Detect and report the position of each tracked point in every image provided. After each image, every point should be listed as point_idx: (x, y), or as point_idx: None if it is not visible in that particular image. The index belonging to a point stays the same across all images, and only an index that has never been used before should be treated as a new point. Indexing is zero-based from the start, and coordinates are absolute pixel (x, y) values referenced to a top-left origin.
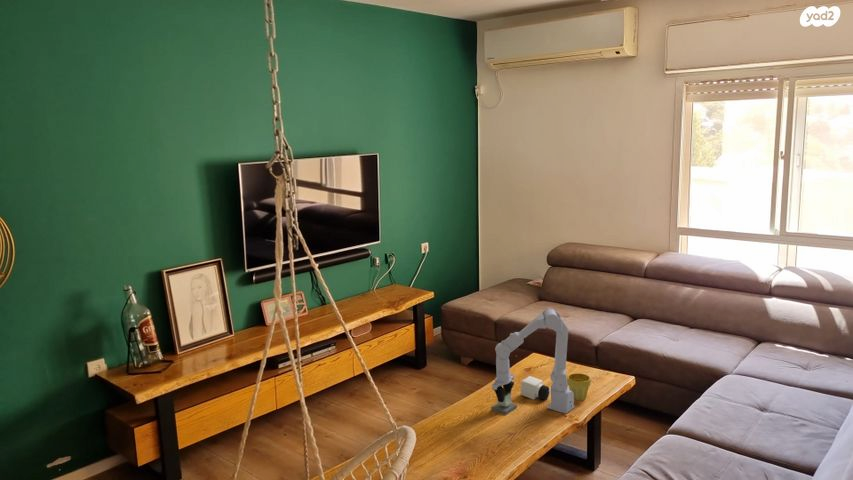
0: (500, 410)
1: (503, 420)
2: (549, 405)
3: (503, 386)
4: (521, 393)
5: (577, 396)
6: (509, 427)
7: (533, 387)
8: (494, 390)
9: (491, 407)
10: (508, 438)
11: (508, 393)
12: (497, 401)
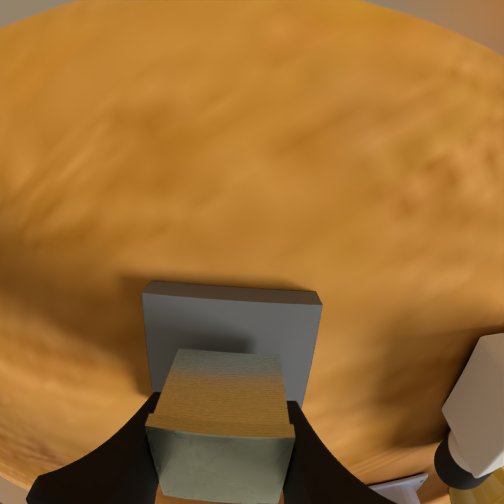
0: (151, 374)
1: (93, 408)
2: (377, 488)
3: (302, 493)
4: (482, 348)
5: (451, 501)
6: (70, 443)
7: (472, 464)
8: (66, 471)
9: (144, 291)
10: (22, 449)
11: (239, 499)
12: (171, 367)
